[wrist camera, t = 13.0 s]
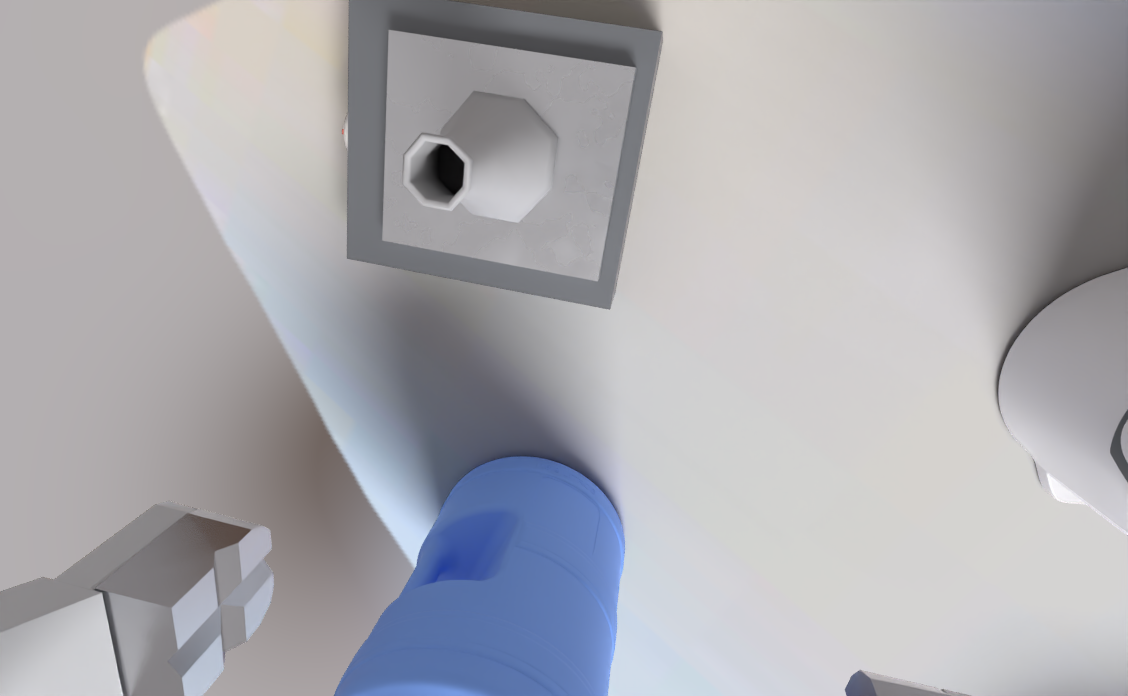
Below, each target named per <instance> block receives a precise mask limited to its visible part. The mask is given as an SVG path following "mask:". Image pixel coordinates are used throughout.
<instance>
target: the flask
mask: <svg viewBox="0 0 1128 696" xmlns="http://www.w3.org/2000/svg"><path fill="white" fill-rule="evenodd" d="M557 145H558V137H557V136H556V135H555V133H554V132H553V131H552V130H551V129H550V128H549V127H548V126H547V125H546V124H545V122H544V121H543V120H542V119H541V118H540V117H539V116H538V115H537V114H536V113H535V112H534V110H533V109H532V108H531V107H530V106H529V105H528V104H527V103H526V102H525V101H524V99H521V98H515V97H509V96H503V95H496V94H490V93H484V92H478V91H473V92H472V93H471V94H470V96H469V97H468V98H467V99H466V100H465V102H464V103H463V104H462V105H461V106H460V108H459V109H458V110H457V111H456V112H455V113H454V115H453V116H452V117H451V118H450V119H449V121H448V122H447V123H446V124H445V125H444V127H443V128H442V129H441V132H440V135H436V134H431V133H425V132H422V133H421V134H420V135H419V136H418V137H417V138H416V140H415V141H414V142H413V143H412V144H411V146H410V147H409V148H408V149H407V151H406V152H405V153H404V154H403V170H402V185H403V186H404V187H405V188H406V189H407V190H408V191H409V192H410V193H411V194H412V195H413V196H414V197H415V198H416V199H417V200H418V201H419V202H420V204H421V205H422V206H426V207H431V208H437V209H442V210H448V211H452V210H453V209H454V208H455V207H456V206H457V205H458V204H459V202H460V203H461V204H462V205H463V206H464V207H465V208H466V209H467V210H468V211H469V212H470V213H471V214H472V215H477V216H482V217H488V218H493V219H499V220H504V221H510V222H515V223H519V222H520V221H521V220H522V219H523V218H524V217H525V216H526V215H527V214H528V213H529V212H530V211H531V210H532V209H533V208H534V207H535V205H536V204H537V203H538V202H539V201H540V200H541V199H542V198H543V197H544V196H545V195H546V194H547V193H548V192H549V191H550V190H551V188H552V181H553V174H554V167H555V159H556V152H557Z"/></svg>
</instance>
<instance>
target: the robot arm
mask: <svg viewBox="0 0 1128 696" xmlns="http://www.w3.org/2000/svg"><path fill="white" fill-rule="evenodd" d="M998 396H999V406H1000V410H1001V414H1002V417H1003V420H1004V422H1005V424H1006V426H1007V428H1008V430H1009V431H1010V433H1011V434H1012V436H1013V437H1014V438H1015V440H1016V441H1017V442H1018V443H1019V444H1020V445H1021V446H1022V447H1023V448H1024V449H1025V450H1026V451H1027V452H1028V453H1029V454H1030V455H1031V457H1032V458H1033V459H1034V461H1035V463H1036V467H1037V472H1038V476H1039V479H1040V482H1041V485H1042V487H1043V489H1044V490H1045V491H1046V492H1047V493H1048V494H1050V495H1051V496H1052V497H1054V498H1055V499H1056V500H1058V501H1060V502H1064V503H1074V504H1087V505H1088V506H1089V507H1091V508H1092V509H1093V510H1094V511H1096V512H1097V513H1098V514H1100V515H1101V516H1102V517H1104V518H1105V519H1106V520H1108V521H1109V522H1110V523H1112V524H1113V525H1114V526H1115V527H1117V528H1118V529H1119V530H1121V531H1122V532H1123V533H1125V534H1126V535H1127V536H1128V267H1127V268H1125V269H1121V270H1118V271H1115V272H1112V273H1109V274H1106V275H1103V276H1100V277H1098V278H1095V279H1093V280H1090V281H1088V282H1086V283H1084V284H1082V285H1080V286H1078V287H1076V288H1074V289H1072V290H1070V291H1069V292H1067V293H1065V294H1064V295H1062V296H1061V297H1059V298H1058V299H1056V300H1055V301H1053V302H1052V303H1051V304H1049V305H1048V306H1047V307H1046V308H1044V309H1043V310H1042V311H1041V312H1040V313H1039V314H1038V315H1037V316H1036V317H1034V318H1033V319H1032V321H1031V322H1030V323H1029V324H1028V325H1027V326H1026V327H1025V328H1024V330H1023V331H1022V332H1021V333H1020V335H1019V336H1018V338H1017V339H1016V341H1015V342H1014V344H1013V345H1012V347H1011V349H1010V351H1009V353H1008V355H1007V357H1006V359H1005V362H1004V365H1003V368H1002V371H1001V375H1000V380H999V390H998ZM270 535H271V534H270V530H269V529H267V528H265V527H264V526H262V525H258V524H254V523H251V522H247V521H243V520H240V519H236V518H232V517H229V516H225V515H221V514H218V513H214V512H210V511H207V510H203V509H197V508H193V507H189V506H185V505H182V504H178V503H175V502H171V501H166V502H163V503H159V504H155V505H154V506H152V507H151V508H150V509H148V510H147V511H146V512H144V513H143V514H142V515H140V516H139V517H137V518H136V519H135V520H133V521H132V522H131V523H129V524H128V525H127V526H125V527H124V528H123V529H121V530H120V531H119V532H117V533H116V534H114V535H113V536H112V537H110V538H109V539H108V540H106V541H105V542H104V543H102V544H101V545H100V546H99V547H97V548H96V549H94V550H93V551H92V552H90V553H89V554H88V555H86V556H85V557H84V558H82V559H81V560H80V561H78V562H77V563H75V564H74V565H73V566H71V567H70V568H69V569H67V570H66V571H65V572H63V573H62V574H61V575H59V576H58V577H57V578H55V579H54V580H53V579H49V578H45V577H41V578H38V579H36V580H33V581H30V582H27V583H24V584H21V585H18V586H15V587H12V588H9V589H6V590H3V591H1V592H0V696H203V695H204V693H205V692H206V691H207V690H208V689H209V687H210V686H211V685H212V684H213V682H214V681H215V680H216V679H217V677H218V676H219V675H220V673H222V671H223V670H224V662H225V652H227V651H229V650H231V649H232V648H235V647H237V646H239V645H241V644H243V643H245V642H247V640H248V639H249V638H250V636H251V635H252V634H253V633H254V631H255V630H256V629H257V628H258V626H259V625H260V624H261V622H262V619H263V617H264V615H265V613H266V611H267V609H268V607H269V605H270V603H271V598H272V593H273V588H274V578H273V577H274V576H273V572H272V570H271V569H270V568H269V566H268V565H267V563H266V562H265V561H264V559H263V558H264V557H265V556H266V555H267V553H268V552H269V551H270V550H271V549H272V543H271V536H270ZM845 692H846V695H847V696H970V695H966V694H961V693H957V692H953V691H948V690H944V689H941V690H940V689H938V688H935V687H931V686H927V685H923V684H918V683H914V682H910V681H905V680H901V679H897V678H892V677H888V676H884V675H879V674H875V673H871V672H866V671H862V670H859V671H858V672H856V673H855V674H854V675H852V676H851V678H850V680H849V682H848V684H847V686H846V688H845Z"/></svg>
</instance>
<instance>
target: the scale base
mask: <svg viewBox="0 0 1128 696" xmlns="http://www.w3.org/2000/svg"><path fill="white" fill-rule="evenodd" d="M389 30H394V31H400V32H407V33H413V34H420V35H426V36H433V37H440V38H446V39H453V40H459V41H466V42H472V43H479V44H485V45H492V46H498V47H505V48H511V49H518V50H525V51H531V52H538V53H544V54H551V55H557V56H564V57H570V58H577V59H583V60H590V61H596V62H603V63H610V64H616V65H623V66H629V67H636V69H637V70H636V75H635V81H634V87H633V92H632V98H631V104H630V109H629V115H628V121H627V126H626V132H625V137H624V143H623V149H622V154H621V160H620V166H619V171H618V177H617V183H616V188H615V194H614V200H613V205H612V211H611V216H610V222H609V228H608V233H607V239H606V245H605V250H604V256H603V262H602V267H601V273H600V278H599V280H598V281H593V280H587V279H582V278H577V277H572V276H566V275H561V274H556V273H551V272H545V271H540V270H535V269H530V268H524V267H519V266H514V265H508V264H503V263H498V262H493V261H487V260H482V259H477V258H472V257H466V256H461V255H456V254H451V253H445V252H440V251H435V250H430V249H424V248H419V247H414V246H408V245H403V244H398V243H393V242H387V241H382V233H383V200H384V167H385V134H386V101H387V68H388V35H389ZM662 43H663V35H662V31H655V30H648V29H641V28H634V27H628V26H621V25H614V24H607V23H600V22H593V21H587V20H580V19H573V18H566V17H559V16H552V15H546V14H539V13H532V12H525V11H518V10H511V9H505V8H498V7H491V6H484V5H477V4H470V3H464V2H457V1H450V0H349V54H348V113H347V115H346V118H345V123H344V129H342V134H344V142H345V146H346V149H347V151H348V191H347V259H352V260H357V261H363V262H368V263H373V264H378V265H383V266H388V267H393V268H399V269H404V270H409V271H414V272H419V273H424V274H429V275H435V276H440V277H445V278H450V279H455V280H460V281H466V282H471V283H476V284H481V285H486V286H491V287H496V288H502V289H507V290H512V291H517V292H522V293H527V294H532V295H538V296H543V297H548V298H553V299H558V300H563V301H568V302H574V303H579V304H584V305H589V306H594V307H599V308H604V309H610V308H611V304H612V301H613V298H614V295H615V291H616V286H617V280H618V275H619V270H620V264H621V259H622V254H623V249H624V243H625V238H626V233H627V228H628V222H629V217H630V212H631V206H632V201H633V196H634V191H635V185H636V180H637V175H638V170H639V164H640V159H641V154H642V149H643V143H644V138H645V133H646V127H647V122H648V117H649V112H650V106H651V101H652V96H653V91H654V85H655V80H656V75H657V69H658V64H659V59H660V54H661V48H662Z"/></svg>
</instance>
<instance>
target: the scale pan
mask: <svg viewBox="0 0 1128 696" xmlns="http://www.w3.org/2000/svg"><path fill="white" fill-rule="evenodd" d="M636 70H637V69H636V67H629V66H623V65H616V64H610V63H603V62H596V61H590V60H583V59H577V58H570V57H564V56H557V55H551V54H544V53H538V52H531V51H525V50H518V49H511V48H505V47H498V46H492V45H485V44H479V43H472V42H466V41H459V40H453V39H446V38H440V37H433V36H426V35H420V34H413V33H407V32H400V31H394V30H389V35H388V68H387V101H386V134H385V167H384V200H383V233H382V241H387V242H393V243H398V244H403V245H408V246H414V247H419V248H424V249H430V250H435V251H440V252H445V253H451V254H456V255H461V256H466V257H472V258H477V259H482V260H487V261H493V262H498V263H503V264H508V265H514V266H519V267H524V268H530V269H535V270H540V271H545V272H551V273H556V274H561V275H566V276H572V277H577V278H582V279H587V280H593V281H598V280H599V278H600V273H601V267H602V262H603V256H604V250H605V245H606V239H607V233H608V228H609V222H610V216H611V211H612V205H613V200H614V194H615V188H616V183H617V177H618V171H619V166H620V160H621V154H622V149H623V143H624V137H625V132H626V126H627V121H628V115H629V109H630V104H631V98H632V92H633V87H634V81H635V75H636ZM473 91H478V92H484V93H490V94H496V95H503V96H509V97H515V98H521V99H524V101H525V102H526V103H527V104H528V105H529V106H530V107H531V108H532V109H533V110H534V112H535V113H536V114H537V115H538V116H539V117H540V118H541V119H542V120H543V121H544V122H545V124H546V125H547V126H548V127H549V128H550V129H551V130H552V131H553V132H554V133H555V135H556V136H557V137H558V145H557V152H556V159H555V167H554V174H553V181H552V188H551V190H550V191H549V192H548V193H547V194H546V195H545V196H544V197H543V198H542V199H541V200H540V201H539V202H538V203H537V204H536V205H535V207H534V208H533V209H532V210H531V211H530V212H529V213H528V214H527V215H526V216H525V217H524V218H523V219H522V220H521V221H520V222H519V223H515V222H510V221H504V220H499V219H493V218H488V217H482V216H477V215H472V214H471V213H470V212H469V211H468V210H467V209H466V208H465V207H464V206H463V205H462V204H461V203H460V202H459V204H458V205H457V206H456V207H455V208H454V209H453V210H452V211H448V210H442V209H437V208H431V207H426V206H422V205H421V204H420V202H419V201H418V200H417V199H416V198H415V197H414V196H413V195H412V194H411V193H410V192H409V191H408V190H407V189H406V188H405V187H404V186H403V185H402V170H403V154H404V153H405V152H406V151H407V149H408V148H409V147H410V146H411V144H412V143H413V142H414V141H415V140H416V138H417V137H418V136H419V135H420V134H421V133H422V132H425V133H431V134H436V135H440V132H441V129H442V128H443V127H444V125H445V124H446V123H447V122H448V121H449V119H450V118H451V117H452V116H453V115H454V113H455V112H456V111H457V110H458V109H459V108H460V106H461V105H462V104H463V103H464V102H465V100H466V99H467V98H468V97H469V96H470V94H471V93H472V92H473Z"/></svg>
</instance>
